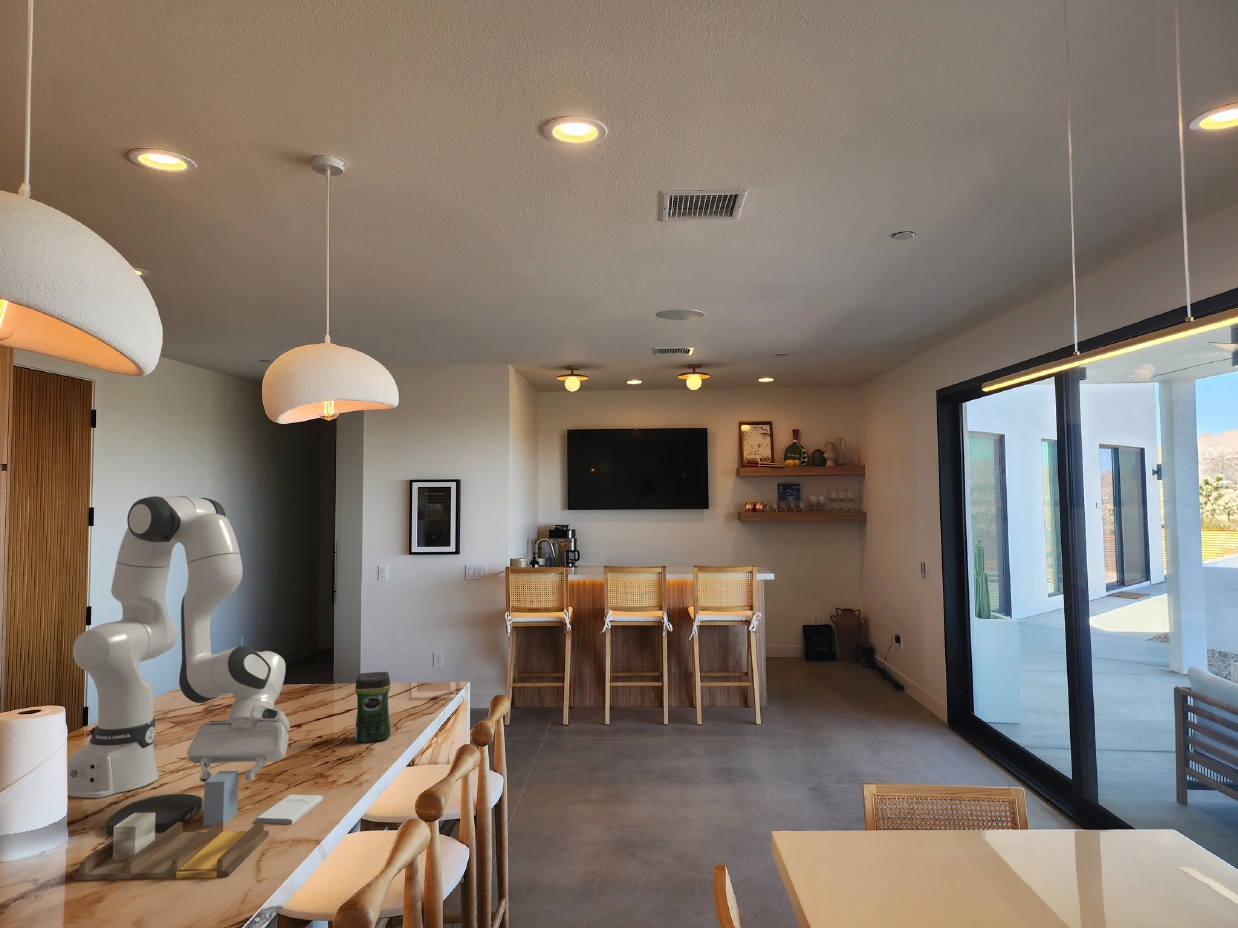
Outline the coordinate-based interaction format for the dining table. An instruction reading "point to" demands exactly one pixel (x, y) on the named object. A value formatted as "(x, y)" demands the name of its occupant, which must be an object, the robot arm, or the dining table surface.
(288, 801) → the external hard drive
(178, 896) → the dining table surface
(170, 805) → the media streaming box
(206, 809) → the grey rectangular block
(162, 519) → the robot arm
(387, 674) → the coffee jar
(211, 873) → the rack
